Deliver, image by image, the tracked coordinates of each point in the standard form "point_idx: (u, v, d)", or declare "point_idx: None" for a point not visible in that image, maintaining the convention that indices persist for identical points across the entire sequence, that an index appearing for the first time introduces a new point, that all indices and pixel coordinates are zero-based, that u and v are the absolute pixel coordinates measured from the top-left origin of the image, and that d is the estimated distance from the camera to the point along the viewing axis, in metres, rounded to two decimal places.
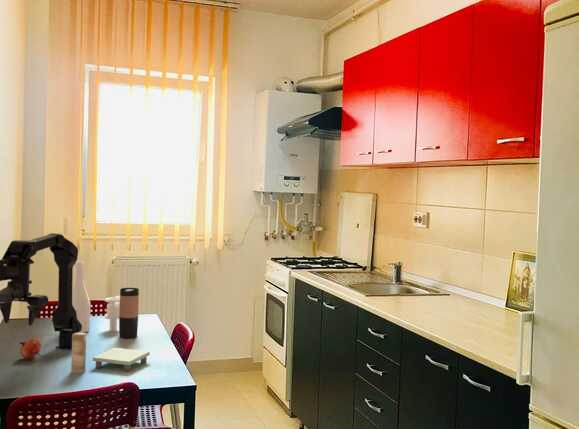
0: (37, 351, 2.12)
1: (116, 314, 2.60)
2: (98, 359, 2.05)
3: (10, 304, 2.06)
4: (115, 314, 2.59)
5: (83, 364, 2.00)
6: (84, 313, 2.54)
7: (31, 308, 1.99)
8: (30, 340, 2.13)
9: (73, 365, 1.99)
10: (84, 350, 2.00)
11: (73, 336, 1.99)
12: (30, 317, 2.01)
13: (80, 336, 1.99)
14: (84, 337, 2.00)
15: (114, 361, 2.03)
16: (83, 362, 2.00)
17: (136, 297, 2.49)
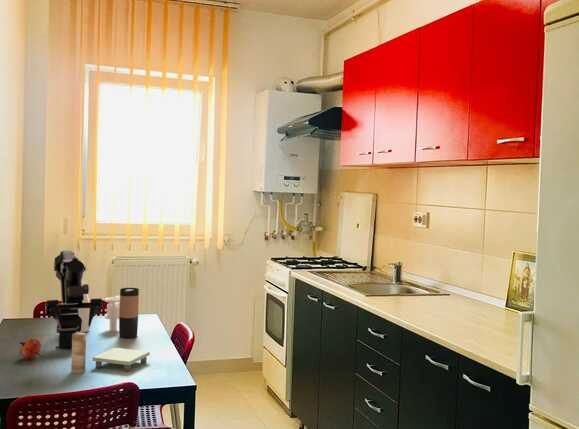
0: (37, 351, 2.12)
1: (116, 314, 2.60)
2: (98, 359, 2.05)
3: None
4: (115, 314, 2.59)
5: (83, 364, 2.00)
6: (84, 313, 2.54)
7: (95, 307, 2.12)
8: (30, 340, 2.13)
9: (73, 365, 1.99)
10: (84, 350, 2.00)
11: (73, 336, 1.99)
12: (91, 317, 2.11)
13: (80, 336, 1.99)
14: (84, 337, 2.00)
15: (114, 361, 2.03)
16: (83, 362, 2.00)
17: (136, 297, 2.49)
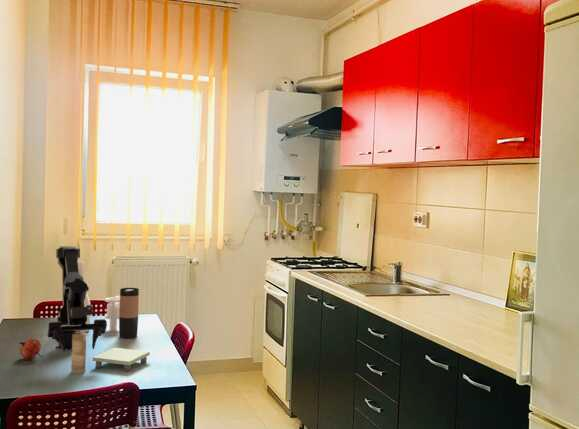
0: (37, 351, 2.12)
1: (116, 314, 2.60)
2: (98, 359, 2.05)
3: None
4: (115, 314, 2.59)
5: (83, 364, 2.00)
6: None
7: (98, 328, 2.06)
8: (30, 340, 2.13)
9: (73, 365, 1.99)
10: (84, 350, 2.00)
11: (73, 336, 1.99)
12: (95, 339, 2.04)
13: (80, 336, 1.99)
14: (84, 337, 2.00)
15: (114, 361, 2.03)
16: (83, 362, 2.00)
17: (136, 297, 2.49)
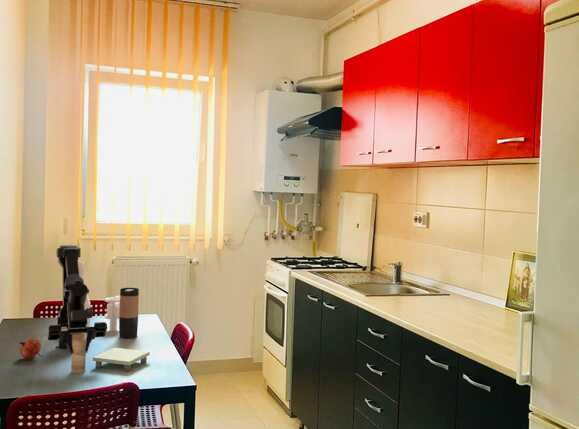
0: (37, 351, 2.12)
1: (116, 314, 2.60)
2: (98, 359, 2.05)
3: None
4: (115, 314, 2.59)
5: (83, 364, 2.00)
6: None
7: (92, 331, 2.04)
8: (30, 340, 2.13)
9: (73, 365, 1.99)
10: (84, 350, 2.00)
11: (73, 336, 1.99)
12: (88, 342, 2.02)
13: (80, 336, 1.99)
14: (84, 337, 2.00)
15: (114, 361, 2.03)
16: (83, 362, 2.00)
17: (136, 297, 2.49)
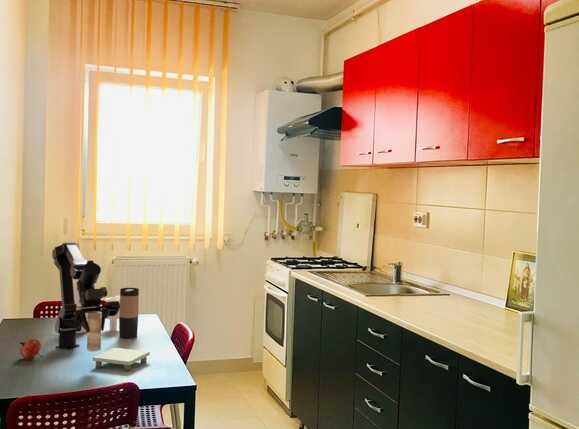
0: (37, 351, 2.12)
1: None
2: (98, 359, 2.05)
3: None
4: None
5: (99, 342, 2.03)
6: None
7: (106, 310, 2.06)
8: (30, 340, 2.13)
9: (90, 343, 2.01)
10: (100, 328, 2.03)
11: (89, 314, 2.01)
12: (103, 321, 2.05)
13: (97, 314, 2.01)
14: (100, 315, 2.03)
15: (114, 361, 2.03)
16: (99, 340, 2.03)
17: (136, 297, 2.49)
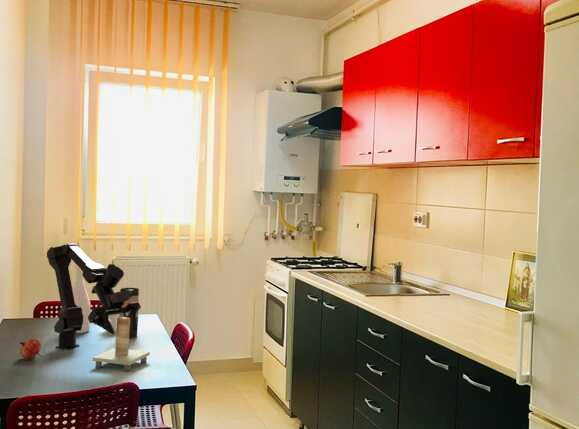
0: (37, 351, 2.12)
1: (116, 314, 2.60)
2: (98, 359, 2.05)
3: None
4: None
5: (128, 346, 2.10)
6: (84, 313, 2.54)
7: (136, 310, 2.16)
8: (30, 340, 2.13)
9: (120, 348, 2.08)
10: (128, 333, 2.11)
11: (120, 320, 2.08)
12: (135, 321, 2.14)
13: (127, 320, 2.09)
14: (129, 321, 2.10)
15: (114, 361, 2.03)
16: (128, 345, 2.10)
17: (136, 297, 2.49)
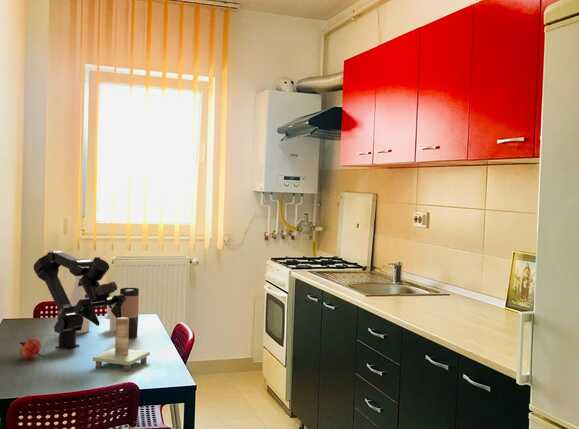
0: (37, 351, 2.12)
1: None
2: (98, 359, 2.05)
3: None
4: None
5: (127, 346, 2.10)
6: None
7: (121, 303, 2.21)
8: (30, 340, 2.13)
9: (120, 348, 2.08)
10: (128, 333, 2.11)
11: (119, 320, 2.08)
12: (120, 313, 2.19)
13: (126, 320, 2.09)
14: (128, 321, 2.10)
15: (114, 361, 2.03)
16: (127, 344, 2.10)
17: (136, 297, 2.49)
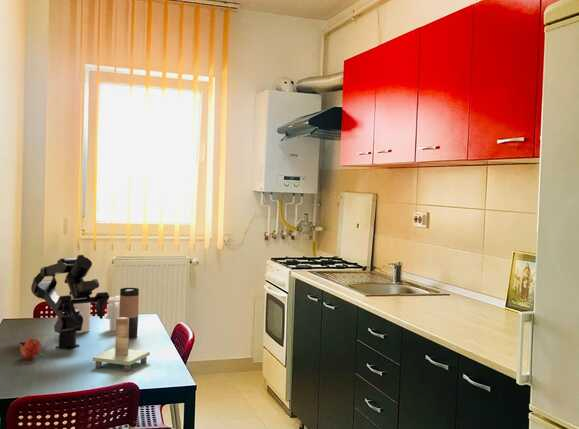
0: (37, 351, 2.12)
1: (116, 314, 2.60)
2: (98, 359, 2.05)
3: None
4: (115, 314, 2.59)
5: (127, 346, 2.10)
6: (84, 313, 2.54)
7: (103, 300, 2.25)
8: (30, 340, 2.13)
9: (120, 348, 2.08)
10: (128, 333, 2.11)
11: (119, 320, 2.08)
12: (102, 310, 2.23)
13: (126, 320, 2.09)
14: (128, 321, 2.10)
15: (114, 361, 2.03)
16: (127, 344, 2.10)
17: (136, 297, 2.49)
